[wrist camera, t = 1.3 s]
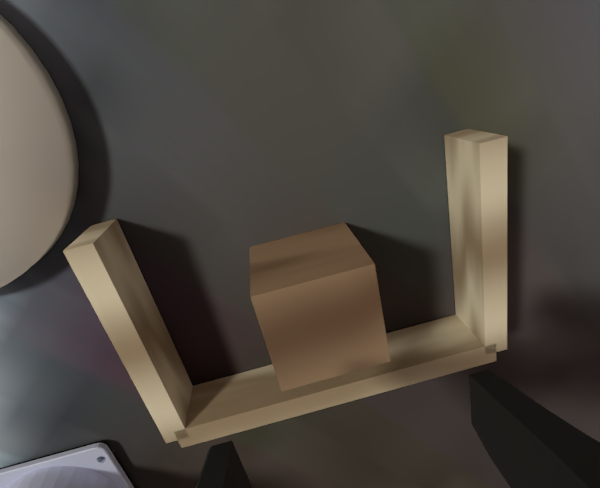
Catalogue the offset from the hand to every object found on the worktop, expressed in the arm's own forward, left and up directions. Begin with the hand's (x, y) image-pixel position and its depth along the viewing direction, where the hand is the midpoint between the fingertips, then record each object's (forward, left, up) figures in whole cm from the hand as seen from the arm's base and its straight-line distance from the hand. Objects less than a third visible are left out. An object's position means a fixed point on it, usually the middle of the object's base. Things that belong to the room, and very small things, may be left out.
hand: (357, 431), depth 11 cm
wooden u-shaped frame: (0, 0, -10) cm, 10 cm away
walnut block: (0, 0, -10) cm, 10 cm away
